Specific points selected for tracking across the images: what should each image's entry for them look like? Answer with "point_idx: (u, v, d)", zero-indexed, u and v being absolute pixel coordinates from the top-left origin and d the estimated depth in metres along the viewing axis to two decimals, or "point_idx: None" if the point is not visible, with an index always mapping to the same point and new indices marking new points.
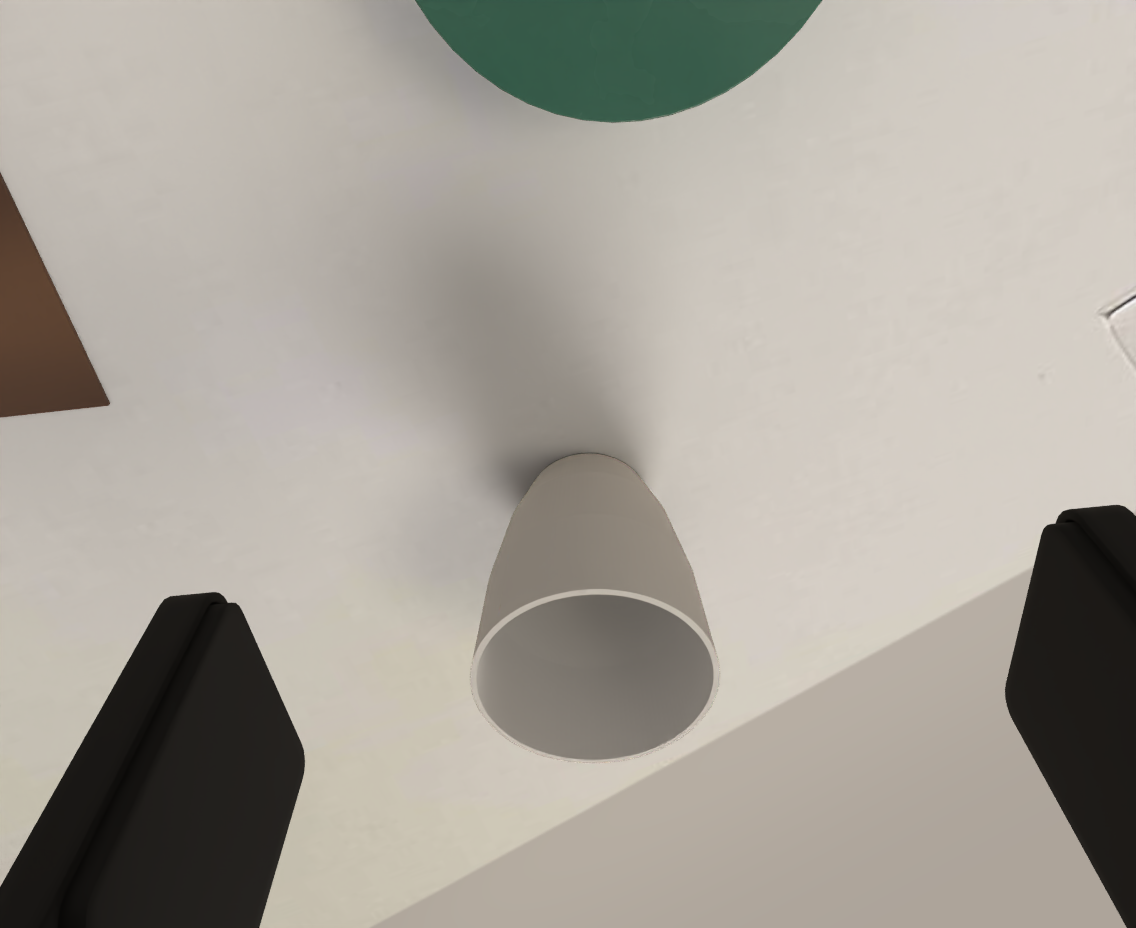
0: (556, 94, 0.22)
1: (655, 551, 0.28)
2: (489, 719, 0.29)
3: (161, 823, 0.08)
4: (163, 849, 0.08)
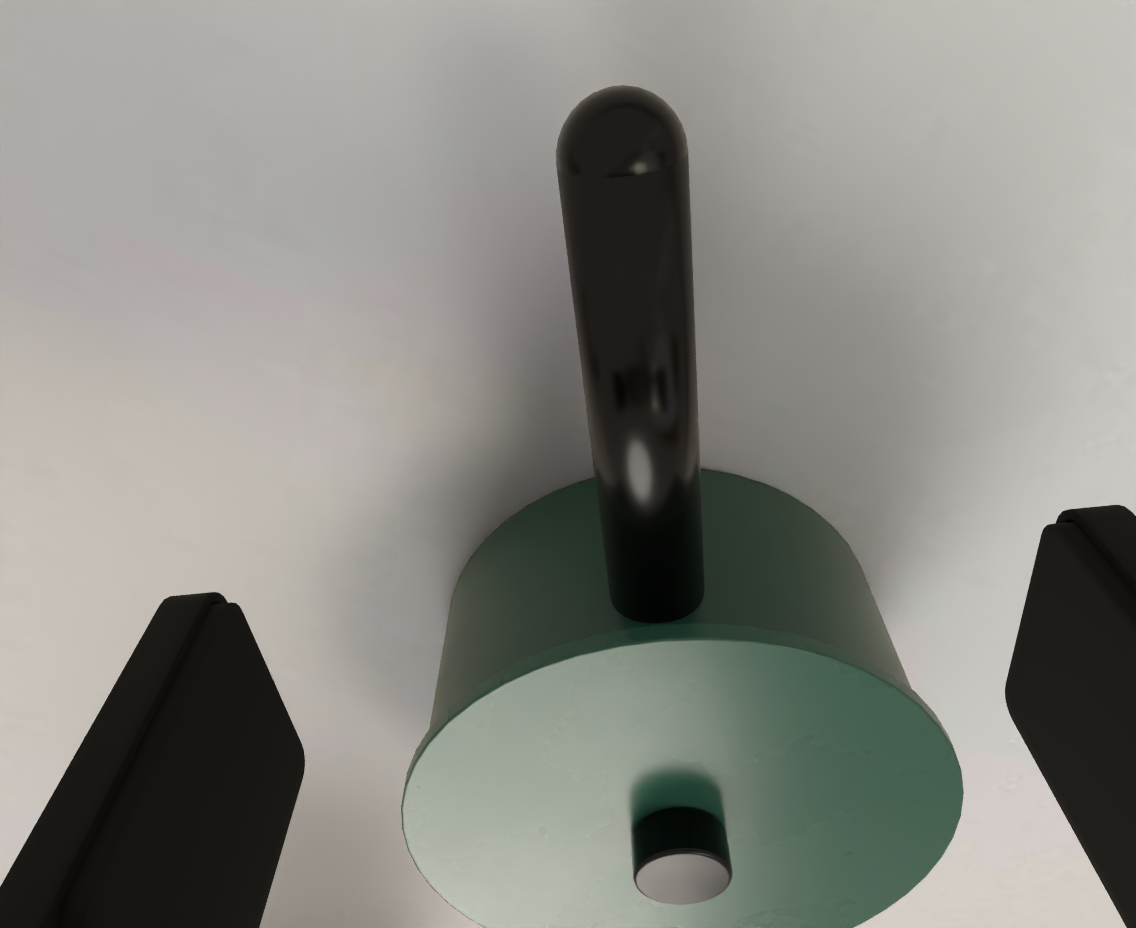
0: (501, 923, 0.20)
1: None
2: None
3: (161, 823, 0.08)
4: (163, 849, 0.08)
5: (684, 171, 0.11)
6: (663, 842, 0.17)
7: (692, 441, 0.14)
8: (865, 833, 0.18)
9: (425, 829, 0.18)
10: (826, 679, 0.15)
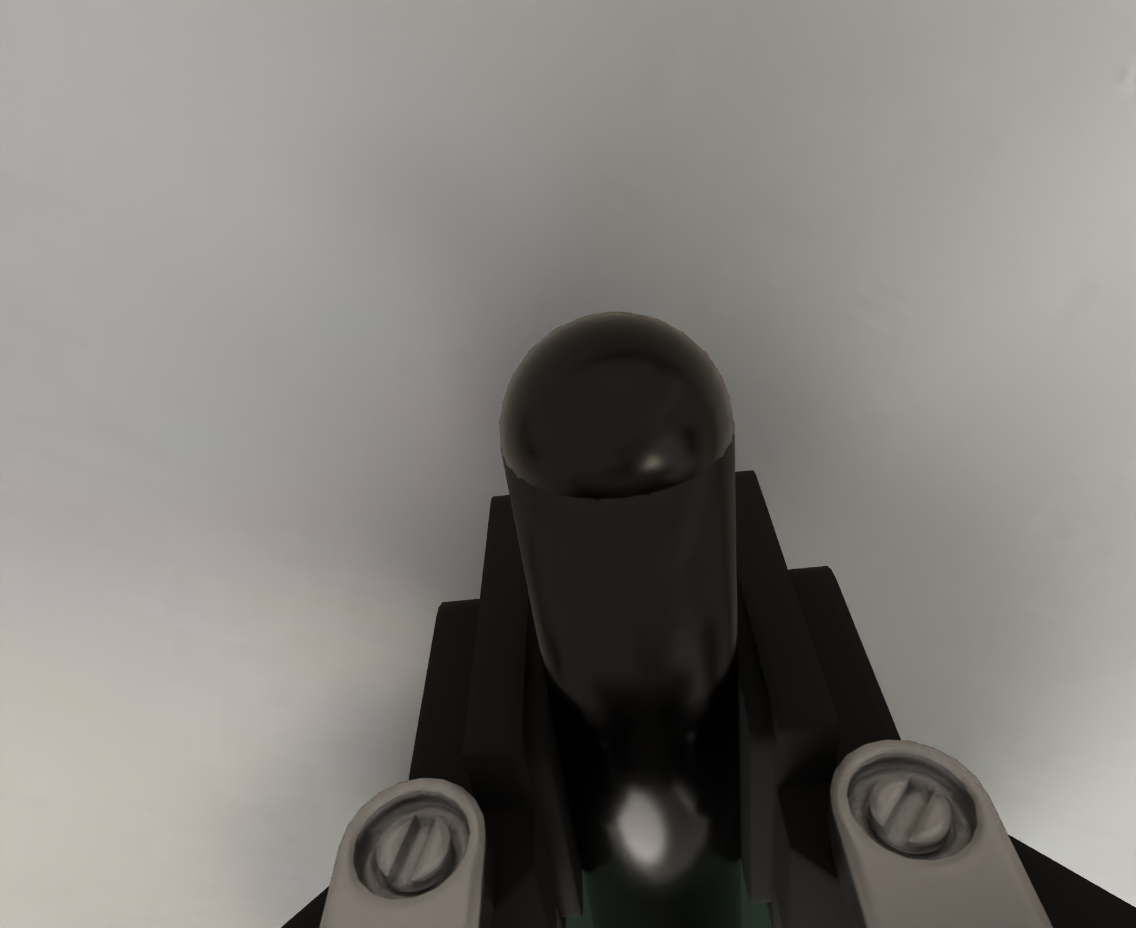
0: None
1: None
2: None
3: None
4: None
5: (729, 466, 0.06)
6: None
7: (732, 822, 0.09)
8: None
9: None
10: None
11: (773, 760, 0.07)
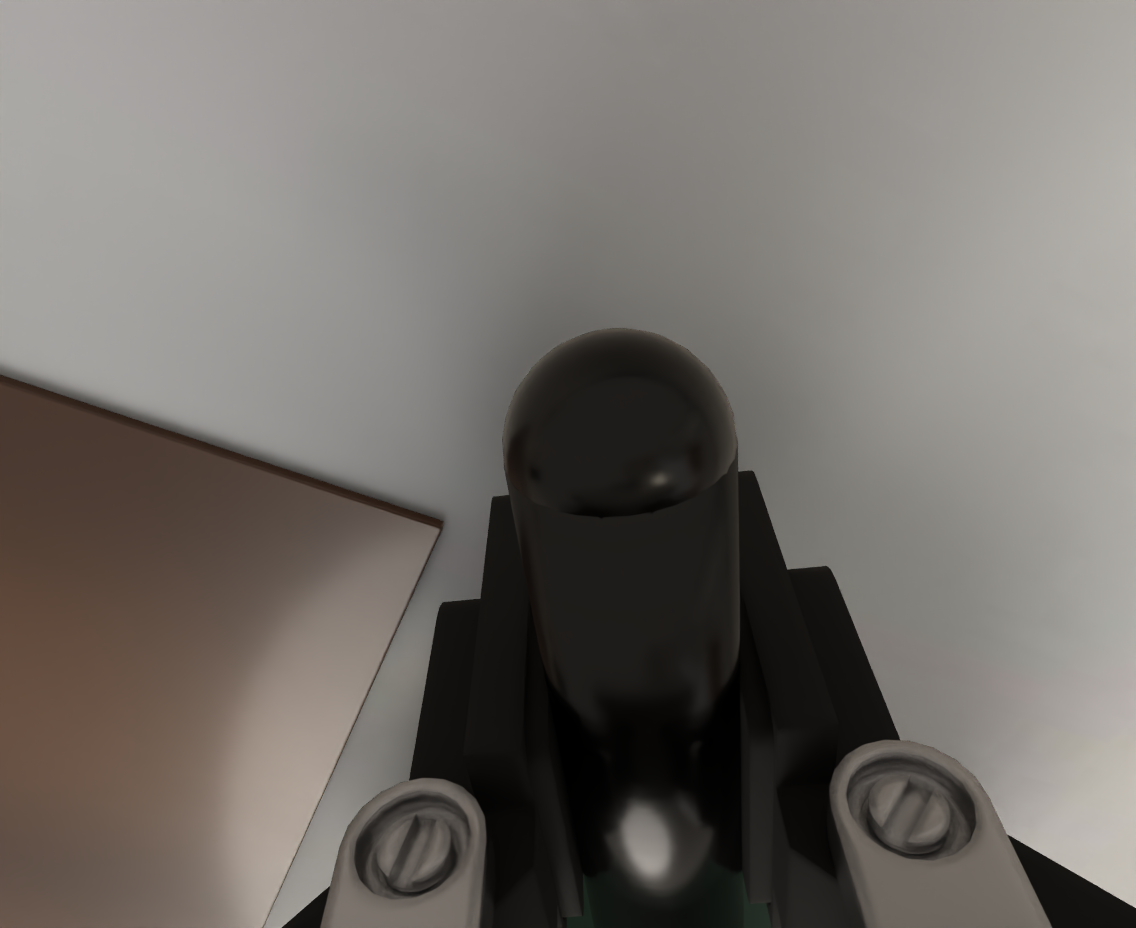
0: None
1: None
2: None
3: None
4: None
5: (732, 482, 0.06)
6: None
7: (734, 833, 0.09)
8: None
9: None
10: None
11: (772, 760, 0.07)
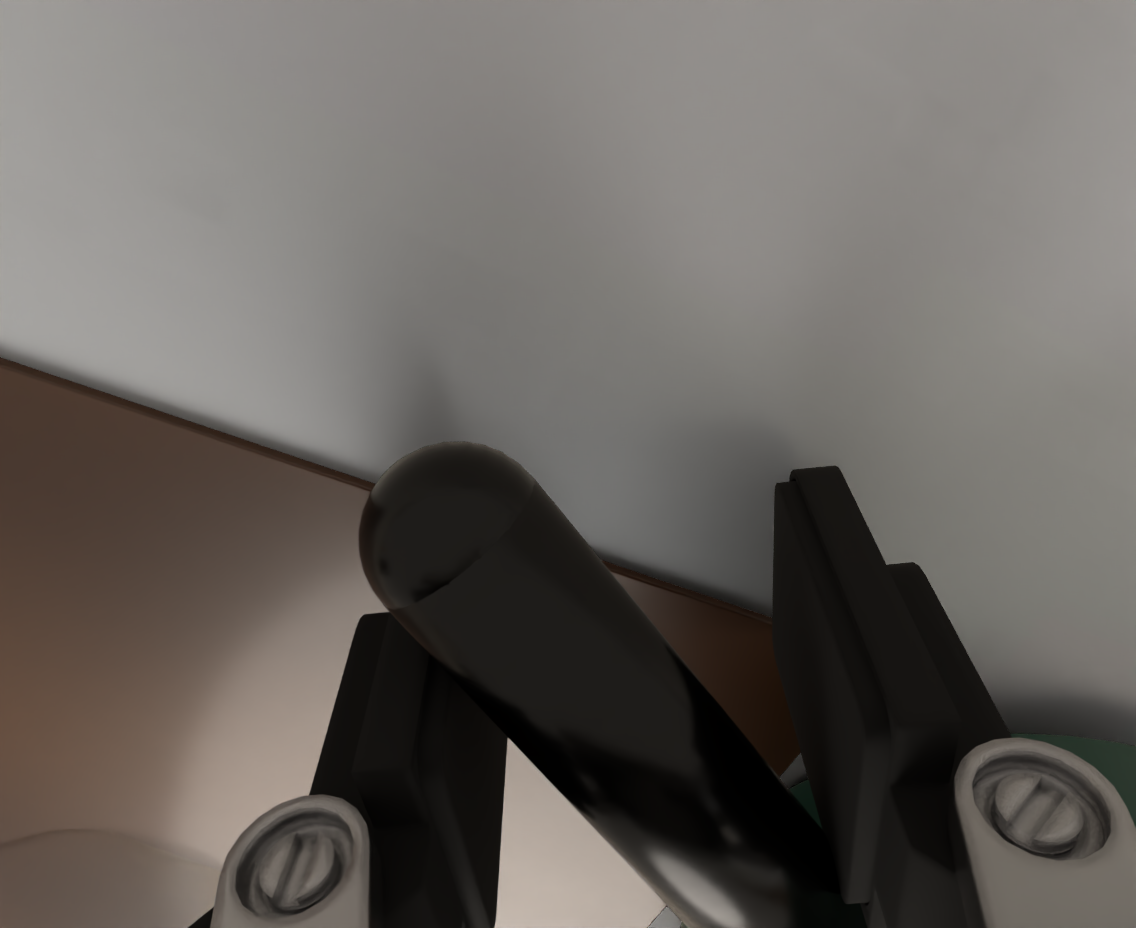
0: None
1: None
2: None
3: (461, 693, 0.09)
4: (463, 717, 0.09)
5: (529, 533, 0.07)
6: None
7: (783, 849, 0.09)
8: None
9: None
10: None
11: (886, 758, 0.07)
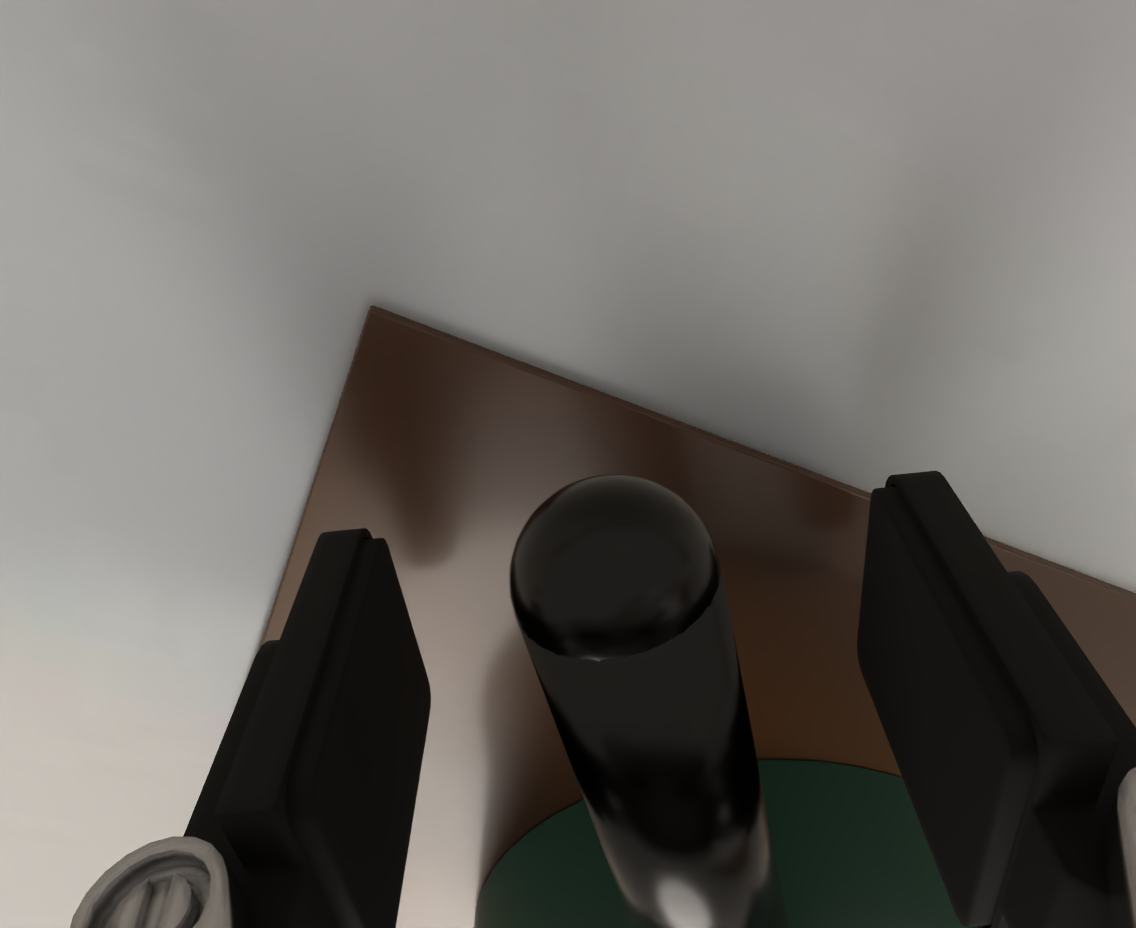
0: None
1: None
2: None
3: (349, 727, 0.08)
4: (351, 750, 0.08)
5: (719, 608, 0.07)
6: None
7: (771, 901, 0.09)
8: None
9: None
10: None
11: (1030, 778, 0.07)
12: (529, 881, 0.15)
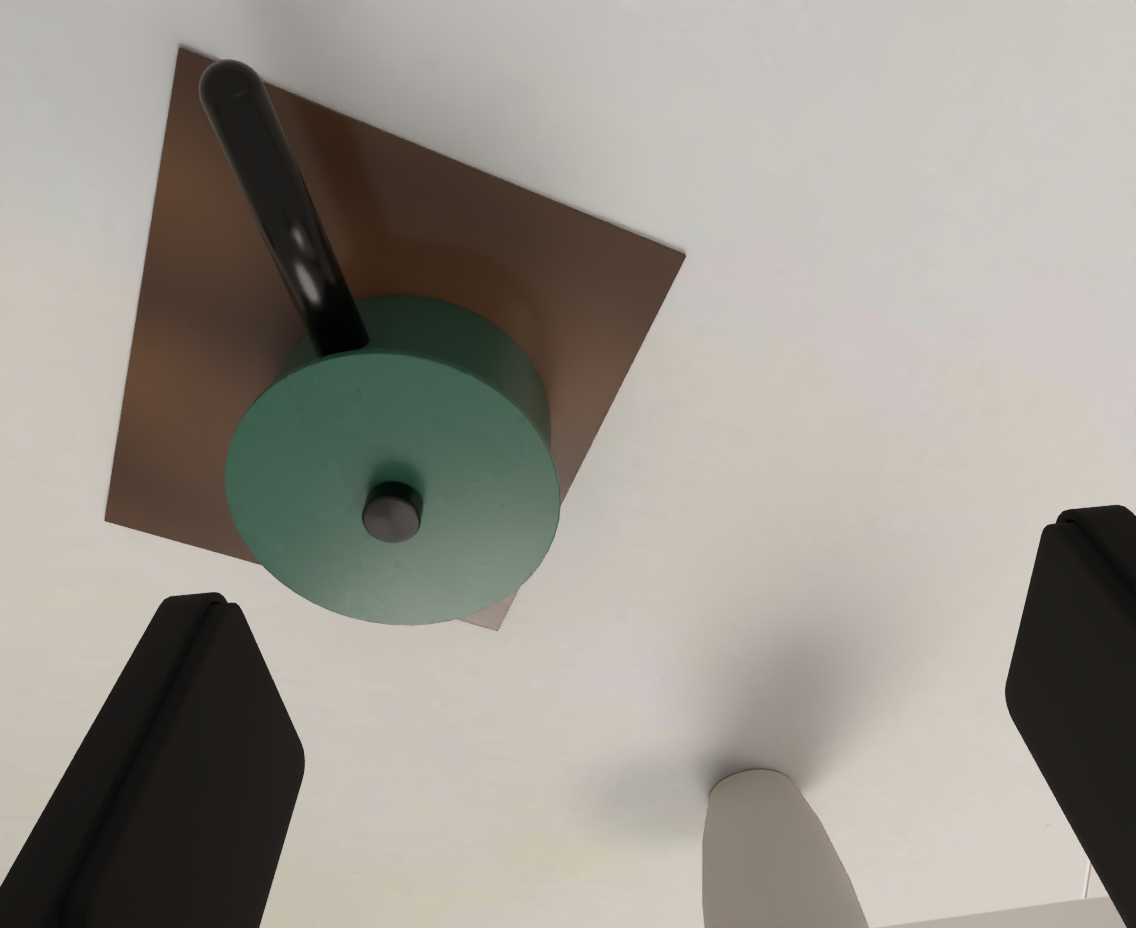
0: (316, 594, 0.32)
1: (858, 901, 0.42)
2: None
3: (161, 823, 0.08)
4: (163, 849, 0.08)
5: (258, 96, 0.24)
6: (373, 497, 0.29)
7: (317, 242, 0.26)
8: (505, 488, 0.30)
9: (246, 519, 0.30)
10: (429, 374, 0.27)
11: None
12: (286, 358, 0.32)
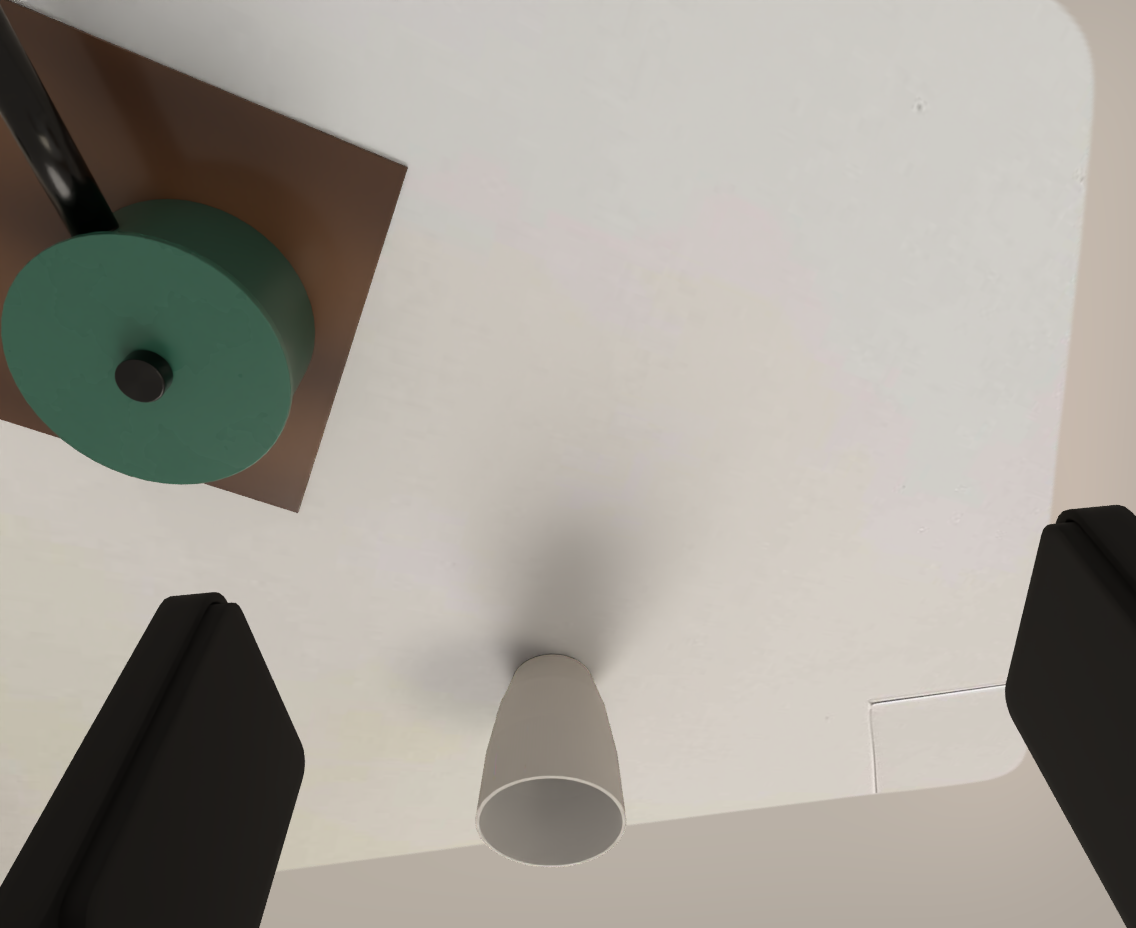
0: (96, 453, 0.38)
1: (612, 759, 0.47)
2: (477, 821, 0.46)
3: (161, 823, 0.08)
4: (163, 849, 0.08)
5: None
6: (123, 360, 0.34)
7: (56, 139, 0.32)
8: (239, 358, 0.35)
9: (26, 381, 0.36)
10: (157, 253, 0.33)
11: None
12: None
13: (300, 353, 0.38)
